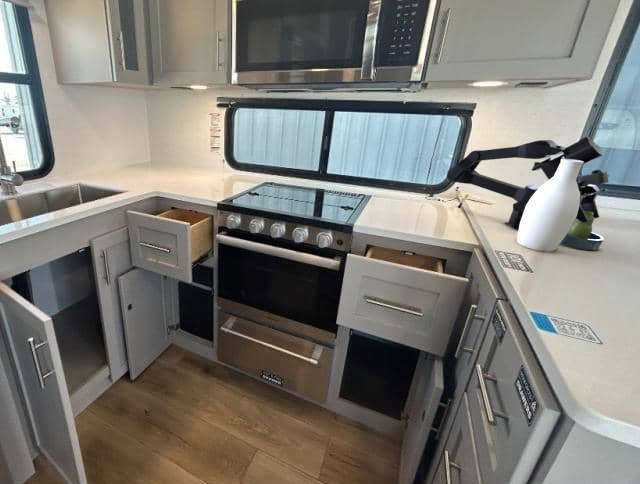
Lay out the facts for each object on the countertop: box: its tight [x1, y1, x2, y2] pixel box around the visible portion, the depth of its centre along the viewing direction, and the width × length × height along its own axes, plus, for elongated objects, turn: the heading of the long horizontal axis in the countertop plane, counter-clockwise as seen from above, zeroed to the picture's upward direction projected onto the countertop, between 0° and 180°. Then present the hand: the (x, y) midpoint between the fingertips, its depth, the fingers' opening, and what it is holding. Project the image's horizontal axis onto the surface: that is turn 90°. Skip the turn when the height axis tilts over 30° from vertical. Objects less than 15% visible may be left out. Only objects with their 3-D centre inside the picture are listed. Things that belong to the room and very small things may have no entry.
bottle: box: [516, 158, 584, 253], centre depth 94 cm, size 11×11×25 cm
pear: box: [567, 212, 595, 239], centre depth 100 cm, size 6×5×10 cm
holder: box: [559, 231, 605, 251], centre depth 101 cm, size 11×11×4 cm
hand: (591, 219), depth 98 cm, fingers open, 9 cm apart
